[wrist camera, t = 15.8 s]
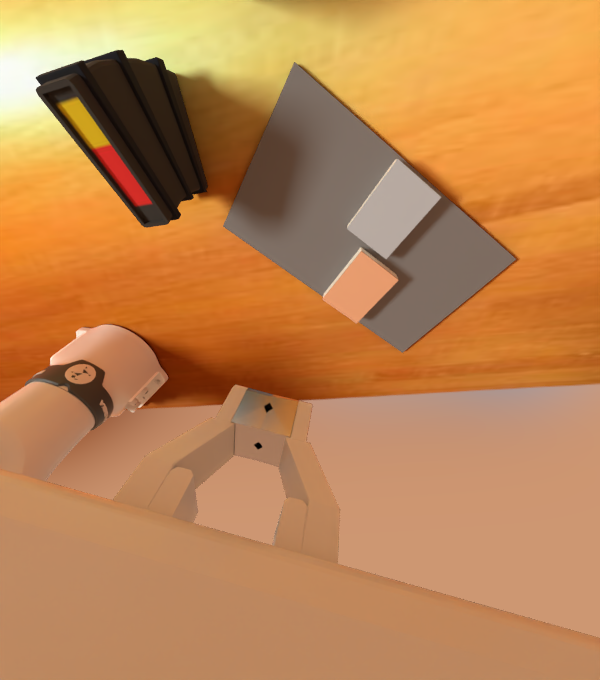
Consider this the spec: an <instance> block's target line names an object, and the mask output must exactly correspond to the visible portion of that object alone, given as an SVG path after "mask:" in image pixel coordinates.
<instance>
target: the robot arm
mask: <svg viewBox="0 0 600 680" xmlns="http://www.w3.org/2000/svg"><path fill="white" fill-rule="evenodd" d="M76 336H77V338H76V339H75V340H74V341H72V342H71V343H69V344H68V345H67V346H65V347H64V348H63V349H61V350H60V351H58V352H57V353H56V354H54V355H53V356H52V357H51V359H50V360H51V361H50V365H51V366H49V367H47V368H46V369H44V370H43V371H40V372H38V373H37V374H35V375H34V376H33V377H32V378H31V379H30V380H28V381H27V382H26V384H25V387H23V388H22V389H20V390H19V391H17V392H16V393H14V394H12V395H11V396H9V397H8V398H6V399H5V400H3V401H2V402H0V680H600V638H598V637H595V636H591V635H588V634H584V633H581V632H577V631H574V630H570V629H567V628H563V627H560V626H556V625H552V624H549V623H545V622H542V621H538V620H535V619H531V618H527V617H524V616H521V615H517V614H514V613H510V612H506V611H503V610H499V609H496V608H492V607H489V606H485V605H482V604H478V603H475V602H471V601H467V600H464V599H461V598H457V597H453V596H450V595H446V594H443V593H439V592H436V591H432V590H428V589H425V588H422V587H418V586H414V585H411V584H407V583H404V582H400V581H397V580H393V579H390V578H386V577H383V576H379V575H376V574H372V573H368V572H365V571H361V570H358V569H354V568H351V567H347V566H344V565H340V564H338V547H339V523H340V508H339V506H338V504H337V502H336V499H335V497H334V495H333V493H332V491H331V488H330V486H329V484H328V482H327V480H326V477H325V475H324V473H323V470H322V468H321V466H320V464H319V462H318V459H317V457H316V455H315V453H314V450H313V448H312V446H311V444H310V443H308V442H306V440H307V434H308V429H309V422H310V417H311V412H312V404H311V403H307V402H303V401H299V400H295V399H291V398H287V397H282V396H278V395H273V394H269V393H265V392H262V391H258V390H255V389H251V388H247V387H243V386H240V385H236V384H235V385H234V386H233V387H232V389H231V391H230V393H229V394H228V396H227V398H226V400H225V401H224V403H223V405H222V407H221V409H220V411H219V412H218V414H217V416H216V418H212V417H211V418H209V419H207V420H206V421H204V422H202V423H201V424H199V425H197V426H195V427H194V428H192V429H190V430H189V431H187V432H185V433H183V434H182V435H180V436H178V437H177V438H175V439H173V440H171V441H170V442H168V443H167V444H165V445H163V446H161V447H159V448H158V449H156V450H154V451H153V452H151V453H149V454H147V455H146V456H145V457H144V458H143V459H142V461H141V462H140V463H139V465H138V466H137V468H136V469H135V470H134V472H133V473H132V474H131V476H130V477H129V478H128V480H127V481H126V482H125V484H124V485H123V487H122V488H121V489H120V491H119V492H118V493H117V495H116V496H115V497H114V499H113V500H110V499H107V498H103V497H99V496H96V495H92V494H88V493H85V492H82V491H78V490H75V489H71V488H68V487H64V486H61V485H57V484H53V483H50V482H46V480H47V479H48V477H49V476H50V474H51V473H52V472H53V470H54V469H55V468H56V467H57V466H58V464H59V463H60V462H61V461H62V460H63V459H64V457H65V456H66V455H67V454H68V453H69V452H70V451H71V450H72V449H73V447H74V446H75V445H76V444H77V443H78V442H79V441H80V440H81V439H82V438H83V437H84V436H85V435H86V434H87V433H88V432H89V431H91V430H94V429H95V428H97V427H98V426H100V425H101V424H102V423H104V421H106V419H107V418H109V417H115V416H119V415H120V414H121V413H122V412H123V411H124V410H125V409H127V410H129V411H131V412H134V411H135V410H136V409H137V408H140V407H141V406H143V405H144V404H145V403H146V402H147V401H148V400H149V399H150V398H151V396H152V395H153V394H154V393H155V392H156V391H157V390H158V389H159V388H160V387H161V386H162V385H163V384H164V383H165V382H166V381H167V380H168V375H167V374H166V373H165V371H164V370H163V369H162V368H161V367H160V365H159V362H158V360H157V357H156V356H155V354H154V352H153V351H152V349H151V348H150V347H149V346H148V345H147V344H146V343H145V342H144V341H143V340H142V339H141V338H140V337H138V336H137V335H135V334H134V333H132V332H130V331H129V330H126V329H124V328H122V327H119V326H115V325H101V326H98V327H95V328H80V329H79V330H77V331H76ZM298 402H299V403H298ZM233 455H236V456H240V457H245V458H249V459H253V460H257V461H261V462H264V463H267V464H271V465H274V466H277V467H279V471H280V475H281V479H282V483H283V487H284V490H285V494H286V498H287V499H286V500H285V501H284V504H283V508H282V511H281V514H280V518H279V521H278V525H277V528H276V531H275V535H274V540H273V544H272V545H269V544H266V543H262V542H259V541H255V540H251V539H248V538H245V537H241V536H237V535H234V534H230V533H227V532H223V531H220V530H216V529H213V528H209V527H206V526H202V525H199V524H195V523H193V522H194V520H195V518H196V515H197V513H198V508H197V500H196V493H195V489H196V488H197V487H198V486H200V485H201V484H202V483H203V482H204V481H206V480H207V479H208V478H209V477H210V476H211V475H213V474H214V473H215V472H216V471H217V470H218V469H219V468H221V467H222V466H223V465H224V464H225V463H226V462H227V461H229V460H230V459H231V458H232V457H233Z"/></svg>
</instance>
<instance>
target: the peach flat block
mask: <svg viewBox="0 0 600 680" xmlns="http://www.w3.org/2000/svg"><path fill="white" fill-rule="evenodd" d="M397 281H398V277H397V275H396V274H395V273H394V272H393V271H391V270H390V269H389V268H388V267H386V266H385V265H384V264H382V263H381V262H380V261H379V260H377V259H376V258H375V257H373V256H372V255H371V254H369V253H368V252H367V251H366V250H364V249H363V248H362V247H360V249H359V250H358V251H357V253H356V254H355V255H354V256H353V258H352V259H351V260H350V261H349V263H348V264H347V265H346V266H345V268H344V269H343V270H342V271H341V273H340V274H339V275H338V276H337V278H336V279H335V280H334V281H333V283H332V284H331V285H330V286H329V288H328V289H327V290H326V291H325V293H324V295H323V299H322V300H324V301H325V302H327V303H328V304H329V305H331V306H332V307H334V308H335V309H336V310H338V311H339V312H341V313H342V314H344V315H345V316H346V317H348V318H349V319H351V320H352V321H354V322H355V323H356V324H357V323H358V322H359V321H360V320H361V319H362V318H363V316H364V315H365V314H366V313H367V312H368V311H369V310H370V309H371V308H372V307H373V306H374V305H375V304H376V303H377V302H378V301H379V300H380V299H381V298H382V297H383V296H384V295H385V294H386V293H387V292H388V291H389V290H390V289H391V288H392V287H393V286H394V285H395V284H396V283H397Z"/></svg>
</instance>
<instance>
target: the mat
mask: <svg viewBox="0 0 600 680" xmlns="http://www.w3.org/2000/svg"><path fill="white" fill-rule="evenodd" d="M395 159H399V160H400V161H401V162H402V163H403V164H404V165H406V166H407V167H408V168H409V169H410V170H411V171H412V172H413V173H415V174H416V175H417V176H418V177H419V178H420V179H421V180H422V181H424V182H425V183H426V184H427V185H428V186H429V187H430V188H432V189H433V190H434V191H435V192H436V193H437V194H438V195H439V196H441V198H440V199H439V201H438V202H437V203H436V204H435V205H434V206H433V207H432V208H431V210H430V211H429V212H428V213H427V214H426V215H425V216H424V217H423V219H422V220H421V221H420V222H419V223H418V224H417V225H416V226H415V228H414V229H413V230H412V231H411V232H410V233H409V234H408V235H407V237H406V238H405V239H404V240H403V241H402V242H401V243H400V244H399V246H398V247H397V248H396V249H395V250H394V251H393V252H392V253H391V255H390V256H389V257H388V258H387V259H385V258H384V257H382V256H381V255H380V254H379V253H377V252H376V251H375V250H373V249H372V248H371V247H370V246H368V245H367V244H366V243H364V242H363V241H362V240H361V239H359V238H358V237H357V236H356V235H354V234H353V233H352V232H350V231H349V230H348V229H347V225H348V224H349V223H350V221H351V220H352V218H353V217H354V216H355V214H356V213H357V212H358V210H359V209H360V207H361V206H362V205H363V203H364V202H365V201H366V199H367V198H368V196H369V195H370V194H371V192H372V191H373V190H374V188H375V187H376V185H377V184H378V183H379V181H380V180H381V178H382V177H383V176H384V174H385V173H386V172H387V170H388V169H389V167H390V166H391V165H392V163H393V162H394V161H395ZM224 227H225V228H226V229H228V230H229V231H231V232H232V233H233V234H235V235H236V236H238V237H239V238H241V239H242V240H243V241H245V242H246V243H248V244H249V245H250V246H252V247H253V248H255V249H256V250H258V251H259V252H260V253H262V254H263V255H265V256H266V257H268V258H269V259H270V260H272V261H273V262H275V263H276V264H277V265H279V266H280V267H282V268H283V269H285V270H286V271H287V272H289V273H290V274H292V275H293V276H294V277H296V278H297V279H299V280H300V281H302V282H303V283H304V284H306V285H307V286H309V287H310V288H311V289H313V290H314V291H316V292H317V293H319V294H320V295H321V296H323V295H324V293H325V291H326V290H327V289H328V288H329V286H330V285H331V284H332V283H333V281H334V280H335V279H336V278H337V276H338V275H339V274H340V273H341V271H342V270H343V269H344V268H345V266H346V265H347V264H348V263H349V261H350V260H351V259H352V258H353V256H354V255H355V254H356V253H357V251H358V250H359V249H360V247H362V248H363V249H364V250H366V251H367V252H368V253H369V254H371V255H372V256H373V257H375V258H376V259H377V260H379V261H380V262H381V263H382V264H384V265H385V266H386V267H388V268H389V269H390V270H391V271H393V272H394V273H395V274H396V275H397V277H398V281H397V283H396V284H395V285H394V286H393V287H392V288H391V289H390V290H389V291H388V292H387V293H386V294H385V295H384V296H383V297H382V298H381V299H380V300H379V301H378V302H377V303H376V304H375V305H374V306H373V307H372V308H371V309H370V310H369V311H368V312H367V313H366V314H365V315H364V316H363V318H362V319H361V320H360V321H359V322H360V323H361V324H363V325H364V326H365V327H367V328H368V329H370V330H371V331H372V332H374V333H375V334H377V335H378V336H380V337H381V338H382V339H384V340H385V341H387V342H388V343H390V344H391V345H392V346H394V347H395V348H397V349H398V350H399V351H401V352H402V353H403V352H404V351H405V350H406V349H408V348H409V347H410V346H411V345H412V344H414V343H415V342H416V341H417V340H419V339H420V338H421V337H422V336H423V335H425V334H426V333H427V332H428V331H430V330H431V329H432V328H433V327H434V326H436V325H437V324H438V323H439V322H440V321H442V320H443V319H444V318H445V317H447V316H448V315H449V314H450V313H451V312H453V311H454V310H455V309H456V308H458V307H459V306H460V305H461V304H462V303H464V302H465V301H466V300H467V299H469V298H470V297H471V296H472V295H473V294H475V293H476V292H477V291H478V290H480V289H481V288H482V287H483V286H484V285H486V284H487V283H488V282H489V281H491V280H492V279H493V278H494V277H495V276H497V275H498V274H499V273H500V272H501V271H503V270H504V269H505V268H506V267H508V266H509V265H510V264H511V263H512V262H514V261H515V260H516V258H514V257H513V256H512V255H511V254H510V253H509V252H508V251H507V250H505V249H504V248H503V247H502V246H501V245H500V244H499V243H498V242H496V241H495V240H494V239H493V238H492V237H491V236H490V235H488V234H487V233H486V232H485V231H484V230H483V229H482V228H481V227H479V226H478V225H477V224H476V223H475V222H474V221H473V220H472V219H470V218H469V217H468V216H467V215H466V214H465V213H464V212H463V211H461V210H460V209H459V208H458V207H457V206H456V205H455V204H454V203H452V202H451V201H450V200H449V199H448V198H447V197H446V196H445V195H443V194H442V193H441V192H440V191H439V190H438V189H437V188H436V187H434V186H433V185H432V184H431V183H430V182H429V181H428V180H427V179H425V178H424V177H423V176H422V175H421V174H420V173H419V172H418V171H416V170H415V169H414V168H413V167H412V166H411V165H410V164H409V163H407V162H406V161H405V160H404V159H403V158H402V157H401V156H400V155H398V154H397V153H396V152H395V151H394V150H393V149H392V148H391V147H389V146H388V145H387V144H386V143H385V142H384V141H383V140H382V139H380V138H379V137H378V136H377V135H376V134H375V133H374V132H373V131H371V130H370V129H369V128H368V127H367V126H366V125H365V124H364V123H362V122H361V121H360V120H359V119H358V118H357V117H356V116H355V115H353V114H352V113H351V112H350V111H349V110H348V109H347V108H346V107H344V106H343V105H342V104H341V103H340V102H339V101H338V100H337V99H335V98H334V97H333V96H332V95H331V94H330V93H329V92H328V91H326V90H325V89H324V88H323V87H322V86H321V85H320V84H319V83H317V82H316V81H315V80H314V79H313V78H312V77H311V76H310V75H308V74H307V73H306V72H305V71H304V70H303V69H302V68H301V67H299V66H298V65H297V64H296V63H295V62H294V65H293V67H292V69H291V71H290V74H289V76H288V78H287V81H286V83H285V85H284V88H283V90H282V92H281V94H280V97H279V99H278V101H277V104H276V106H275V108H274V111H273V113H272V115H271V117H270V120H269V122H268V124H267V127H266V129H265V131H264V134H263V136H262V138H261V140H260V143H259V145H258V147H257V150H256V152H255V154H254V157H253V159H252V161H251V163H250V166H249V168H248V170H247V173H246V175H245V177H244V180H243V182H242V184H241V186H240V189H239V191H238V193H237V196H236V198H235V200H234V203H233V205H232V207H231V209H230V212H229V214H228V216H227V219H226V221H225V223H224Z"/></svg>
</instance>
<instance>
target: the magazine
mask: <svg viewBox="0 0 600 680" xmlns="http://www.w3.org/2000/svg"><path fill="white" fill-rule="evenodd" d="M36 79H37V81H38V82H39V83H40V84H41V86H39V87H37V89H36V92H37V94H38V96H39V97H40V98H41V99H42V101H43V102H44V103H45V104H46V106H47V107H48V108H49V109H50V111H51V112H52V113H53V114H54V116H55V117H56V118H57V119H58V121H59V122H60V123H61V124H62V126H63V127H64V128H65V129H66V131H67V132H68V133H69V134H70V136H71V137H72V138H73V139H74V141H75V142H76V143H77V144H78V146H79V147H80V148H81V149H82V151H83V152H84V153H85V154H86V156H87V157H88V158H89V159H90V161H91V162H92V163H93V164H94V166H95V167H96V168H97V170H98V171H99V172H100V173H101V175H102V176H103V177H104V178H105V180H106V181H107V182H108V183H109V185H110V186H111V187H112V188H113V190H114V191H115V192H116V193H117V195H118V196H119V197H120V198H121V200H122V201H123V202H124V203H125V205H126V206H127V207H128V208H129V210H130V211H131V212H132V213H133V215H134V216H135V217H136V218H137V220H138V221H139V222H140V223H141V225H142V226H144V227H153V226H159V225H166V224H168V223H169V222H170V220H176V219H179V217H180V216H181V214H180V212H179V211H178V209H177V207H178V206H179V204H180V202H181V201H186V200H192V199H193V198H194V197H193V195H192V194H198V193H203V192H207V191H206V188H207V187H208V185H207V182H206V178H205V175H204V171H203V168H202V164H201V161H200V157H199V154H198V150H197V147H196V143H195V140H194V136H193V133H192V130H191V126H190V123H189V119H188V116H187V112H186V109H185V105H184V102H183V98H182V95H181V91H180V88H179V84H178V81H177V78H176V75H175V73H173V72H171V71H169V70H166V67H165V64H164V61H163V60H162V59H159V58H157V57H155V58H152V59H149V60H146V61H142V60H139V59H136V58H127V57H126V55H125V53H124V51H123V50H116V51H113V52H110V53H107V54H104V55H101V56H98V57H95V58H92V59H89V60H86V61H79V62H76V63H73V64H70V65H67V66H64V67H61V68H58V69H55V70H52V71H49V72H46V73H43V74H41V75H39V76H37V77H36Z"/></svg>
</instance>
